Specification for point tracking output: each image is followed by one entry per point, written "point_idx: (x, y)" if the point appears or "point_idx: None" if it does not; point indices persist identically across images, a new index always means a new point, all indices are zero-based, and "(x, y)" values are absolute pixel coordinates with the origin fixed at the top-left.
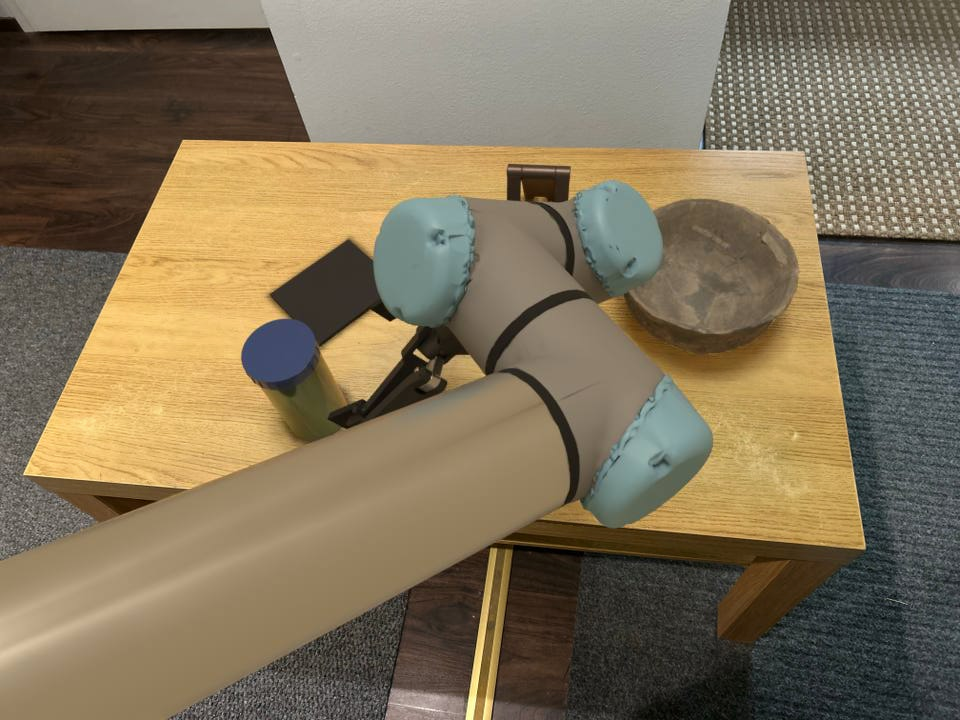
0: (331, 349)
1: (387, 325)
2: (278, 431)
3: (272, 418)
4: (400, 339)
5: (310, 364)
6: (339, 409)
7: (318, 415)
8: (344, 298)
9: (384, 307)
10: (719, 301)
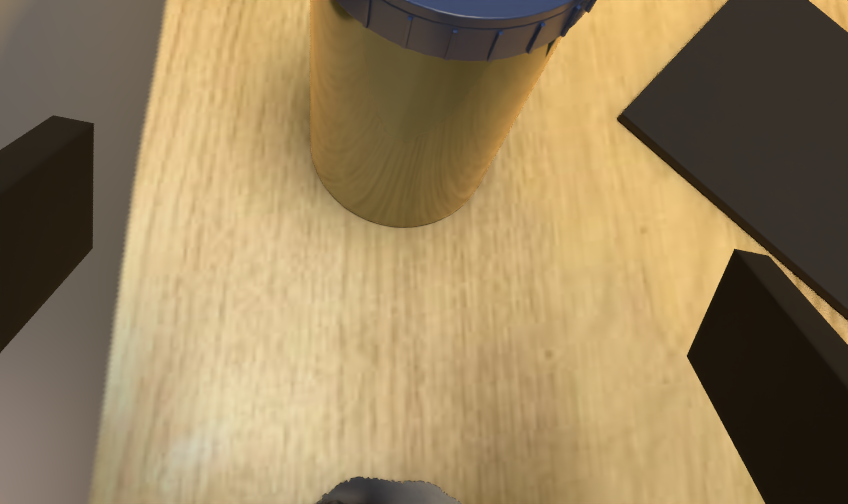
0: (612, 153)
1: None
2: None
3: None
4: (672, 357)
5: (406, 14)
6: (32, 161)
7: (331, 131)
8: (786, 166)
9: (755, 328)
10: None
